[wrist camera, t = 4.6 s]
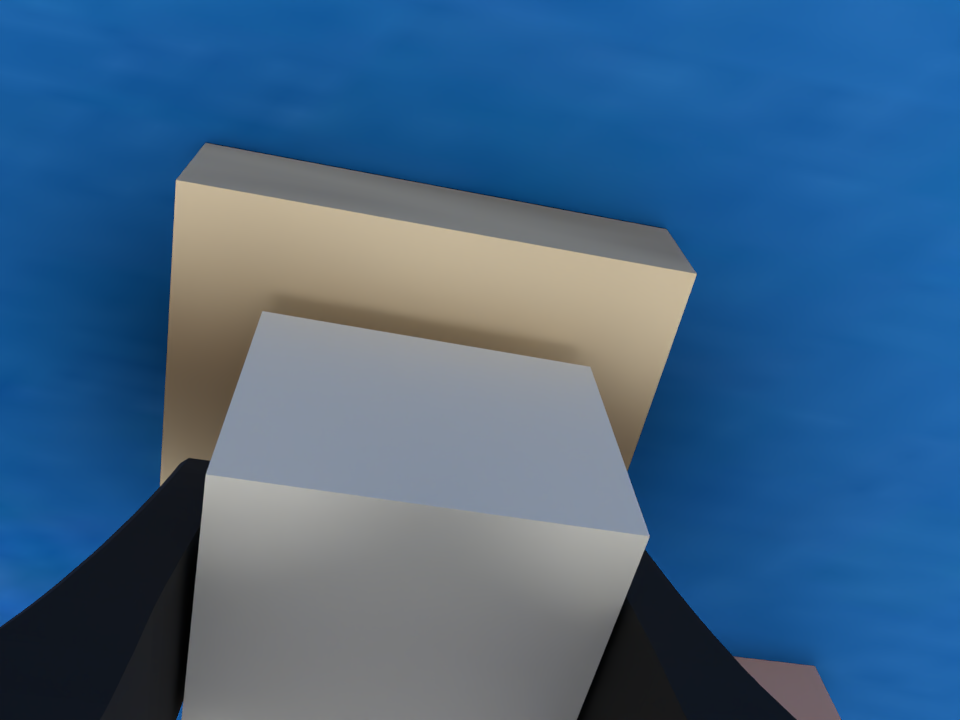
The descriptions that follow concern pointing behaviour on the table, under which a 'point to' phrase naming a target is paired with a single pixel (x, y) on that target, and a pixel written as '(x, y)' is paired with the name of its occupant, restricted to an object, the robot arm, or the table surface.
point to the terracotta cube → (793, 688)
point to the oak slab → (405, 281)
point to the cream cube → (407, 533)
